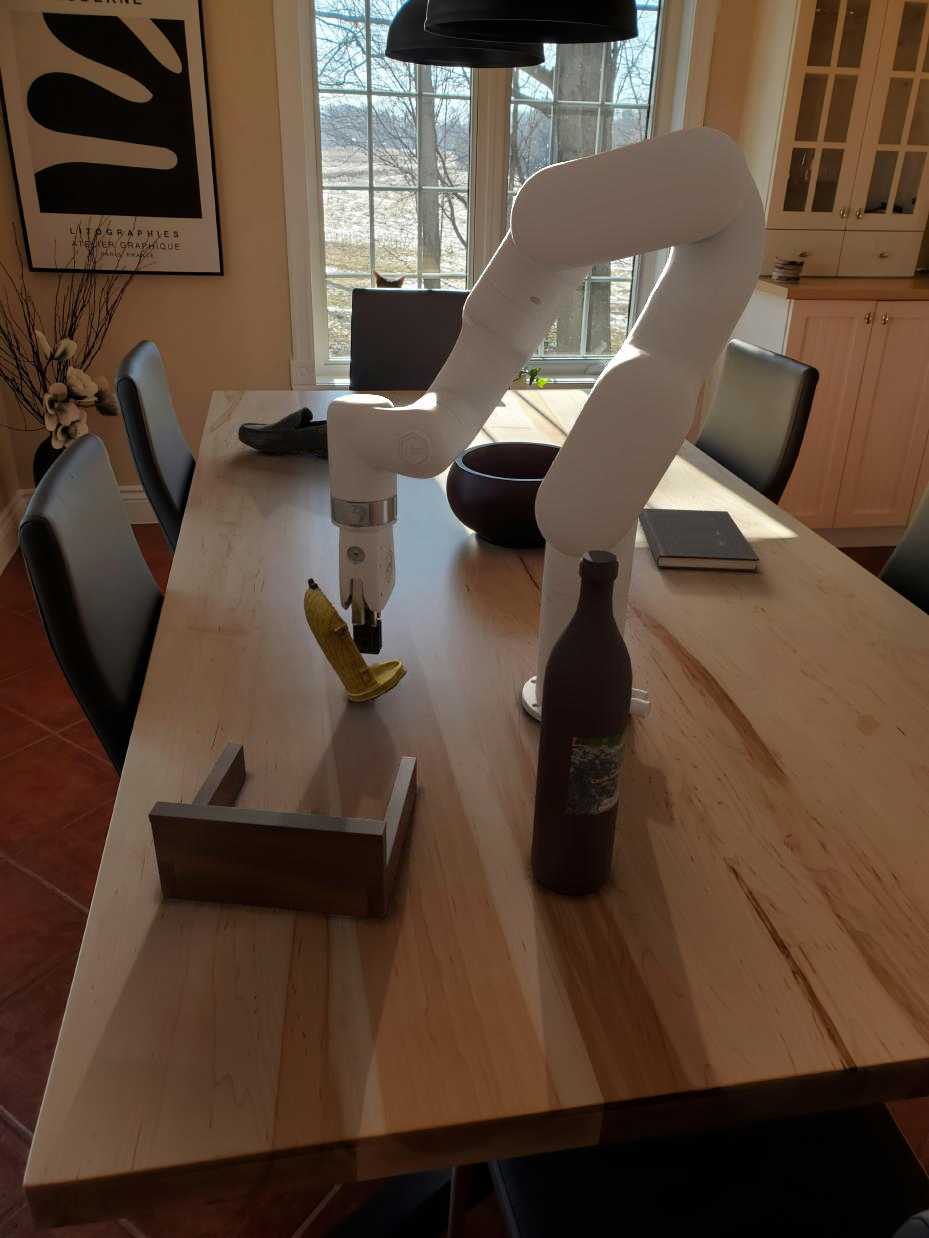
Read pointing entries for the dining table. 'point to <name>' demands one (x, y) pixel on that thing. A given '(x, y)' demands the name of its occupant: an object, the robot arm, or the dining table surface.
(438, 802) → the dining table surface
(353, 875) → the dark wooden open frame
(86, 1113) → the dining table surface
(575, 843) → the wine bottle
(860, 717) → the dining table surface
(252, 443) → the loafer
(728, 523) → the hardcover book
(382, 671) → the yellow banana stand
